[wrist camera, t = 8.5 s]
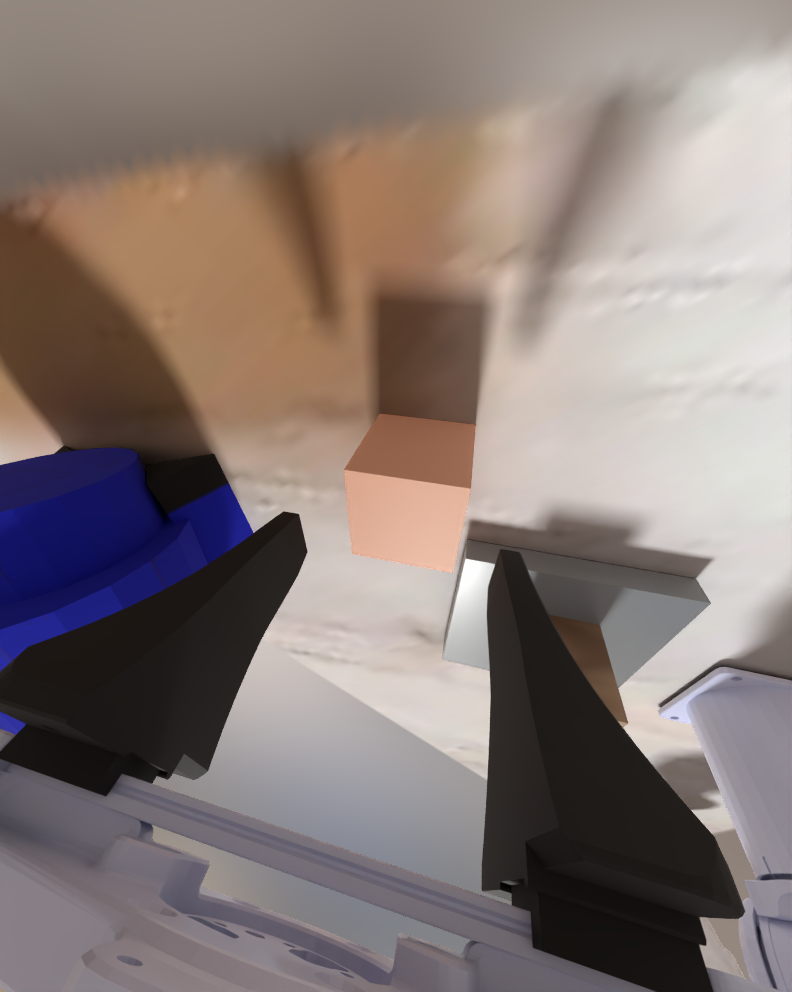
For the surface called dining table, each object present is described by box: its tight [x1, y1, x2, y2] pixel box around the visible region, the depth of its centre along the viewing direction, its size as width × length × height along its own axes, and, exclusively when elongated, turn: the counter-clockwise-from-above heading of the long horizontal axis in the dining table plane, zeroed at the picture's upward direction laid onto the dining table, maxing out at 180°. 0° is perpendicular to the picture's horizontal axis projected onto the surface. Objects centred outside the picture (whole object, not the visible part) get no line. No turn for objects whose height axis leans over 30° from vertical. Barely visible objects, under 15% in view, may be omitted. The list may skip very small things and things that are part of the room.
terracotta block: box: [344, 414, 476, 573], centre depth 15 cm, size 4×4×5 cm
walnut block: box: [549, 615, 628, 727], centre depth 19 cm, size 4×4×5 cm
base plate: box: [442, 540, 711, 688], centre depth 21 cm, size 12×12×2 cm
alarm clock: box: [0, 446, 253, 735], centre depth 17 cm, size 12×12×15 cm
